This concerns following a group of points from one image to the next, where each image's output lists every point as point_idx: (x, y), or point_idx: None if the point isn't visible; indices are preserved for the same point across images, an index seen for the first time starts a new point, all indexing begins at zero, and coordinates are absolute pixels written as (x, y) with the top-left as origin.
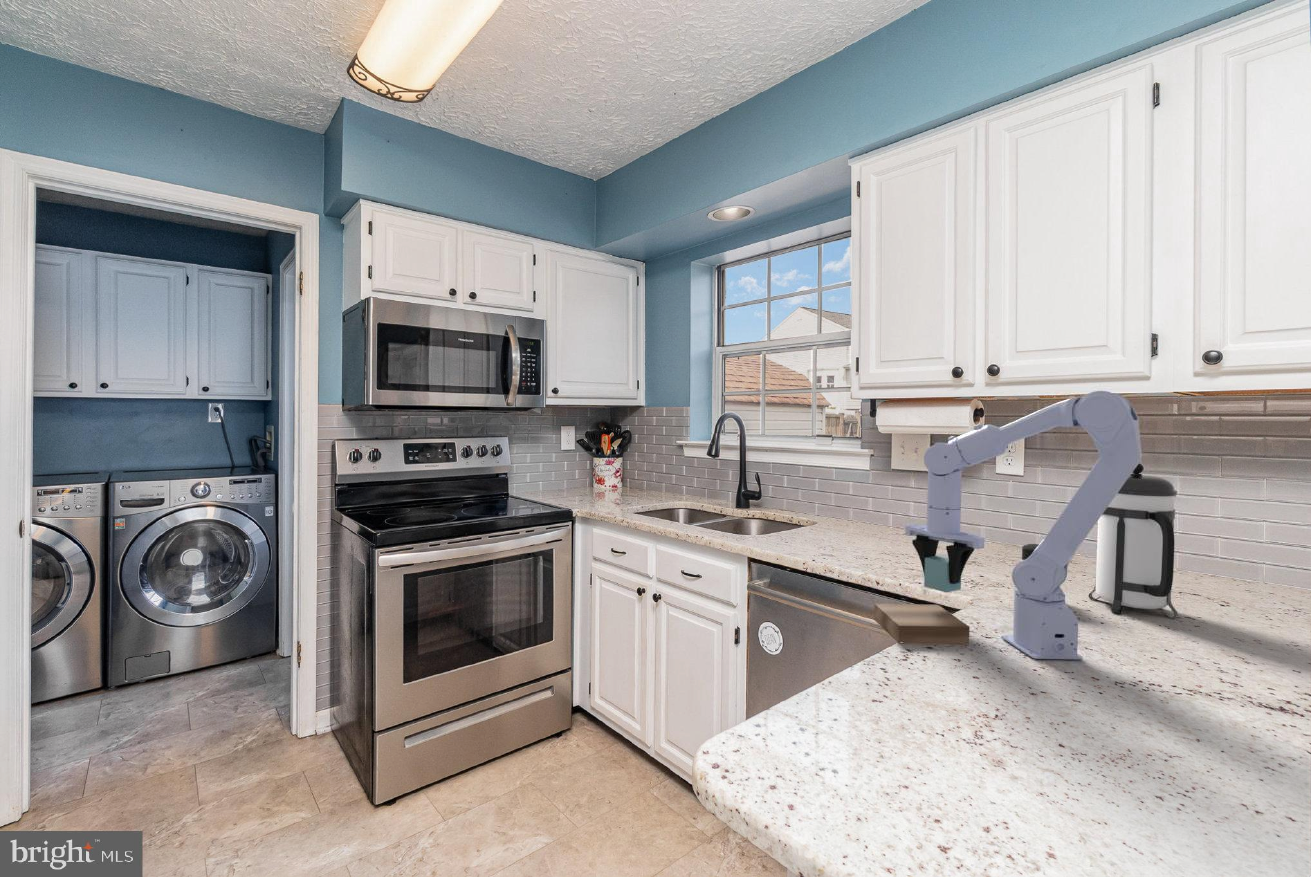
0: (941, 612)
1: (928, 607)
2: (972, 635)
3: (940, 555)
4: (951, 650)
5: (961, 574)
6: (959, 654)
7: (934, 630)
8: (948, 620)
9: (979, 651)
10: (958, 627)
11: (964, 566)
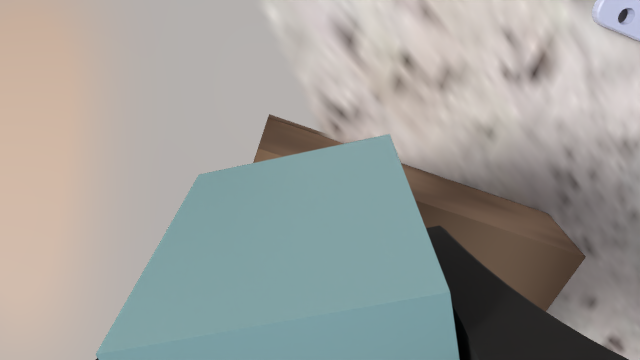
0: None
1: None
2: (487, 118)
3: (118, 355)
4: (551, 309)
5: (474, 258)
6: (588, 311)
7: None
8: None
9: (614, 232)
10: (555, 295)
11: (529, 300)
